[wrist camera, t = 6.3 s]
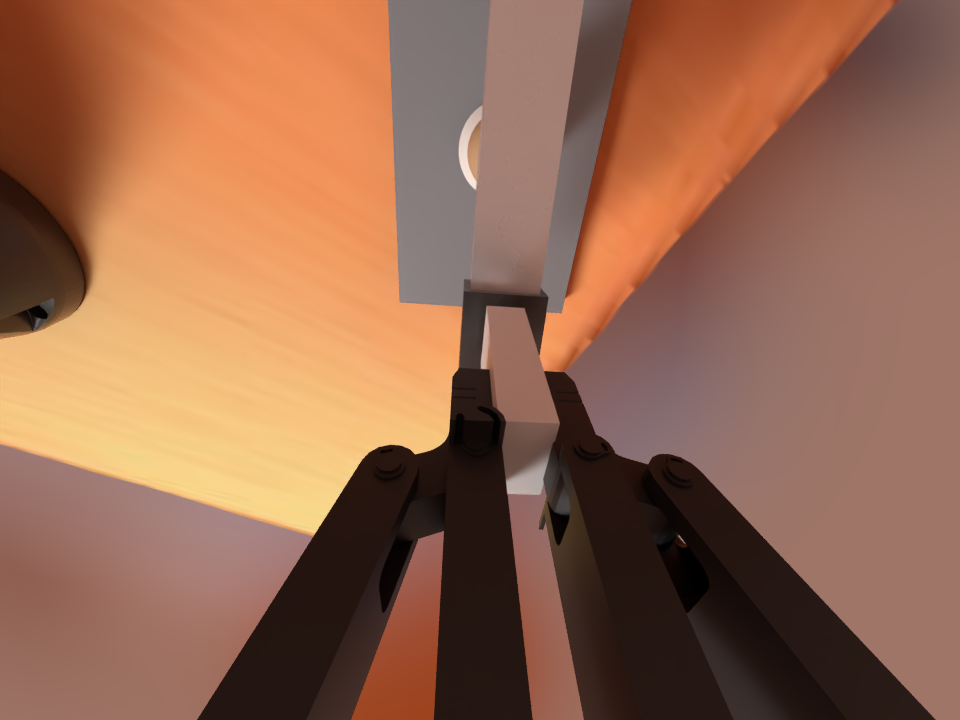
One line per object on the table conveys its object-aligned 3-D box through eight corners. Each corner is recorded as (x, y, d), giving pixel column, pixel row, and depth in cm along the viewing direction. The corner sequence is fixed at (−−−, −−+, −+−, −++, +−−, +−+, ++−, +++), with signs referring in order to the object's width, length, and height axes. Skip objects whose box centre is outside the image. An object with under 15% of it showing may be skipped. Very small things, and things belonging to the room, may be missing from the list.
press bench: (403, 293, 33) (366, 388, 21) (387, -186, 19) (247, -718, 7) (556, 303, 34) (603, 400, 22) (653, -145, 19) (933, -551, 8)
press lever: (456, 399, 21) (454, 430, 18) (495, -233, 11) (505, -367, 9) (518, 402, 21) (526, 433, 18) (607, -215, 12) (650, -339, 9)
